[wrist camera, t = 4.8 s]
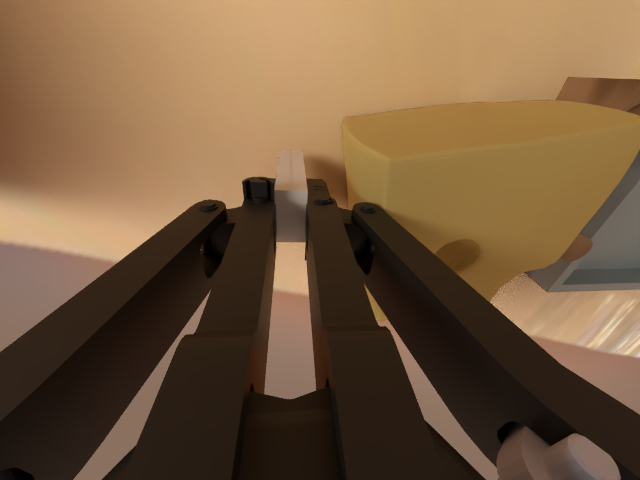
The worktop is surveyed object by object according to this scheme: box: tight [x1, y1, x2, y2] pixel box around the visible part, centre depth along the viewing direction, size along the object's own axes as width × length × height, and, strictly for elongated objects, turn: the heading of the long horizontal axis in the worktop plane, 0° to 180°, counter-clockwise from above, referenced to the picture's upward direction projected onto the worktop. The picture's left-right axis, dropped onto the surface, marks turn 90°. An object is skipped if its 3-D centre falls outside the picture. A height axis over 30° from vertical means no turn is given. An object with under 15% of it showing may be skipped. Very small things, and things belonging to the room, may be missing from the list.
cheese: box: [342, 100, 640, 321], centre depth 16 cm, size 10×11×10 cm
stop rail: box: [557, 77, 640, 262], centre depth 18 cm, size 12×2×6 cm, turn 177°
